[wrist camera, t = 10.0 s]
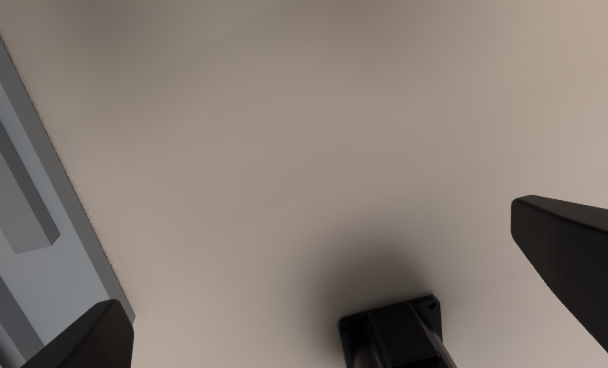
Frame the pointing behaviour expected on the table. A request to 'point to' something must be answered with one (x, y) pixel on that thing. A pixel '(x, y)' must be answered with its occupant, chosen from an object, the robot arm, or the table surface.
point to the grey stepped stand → (41, 235)
